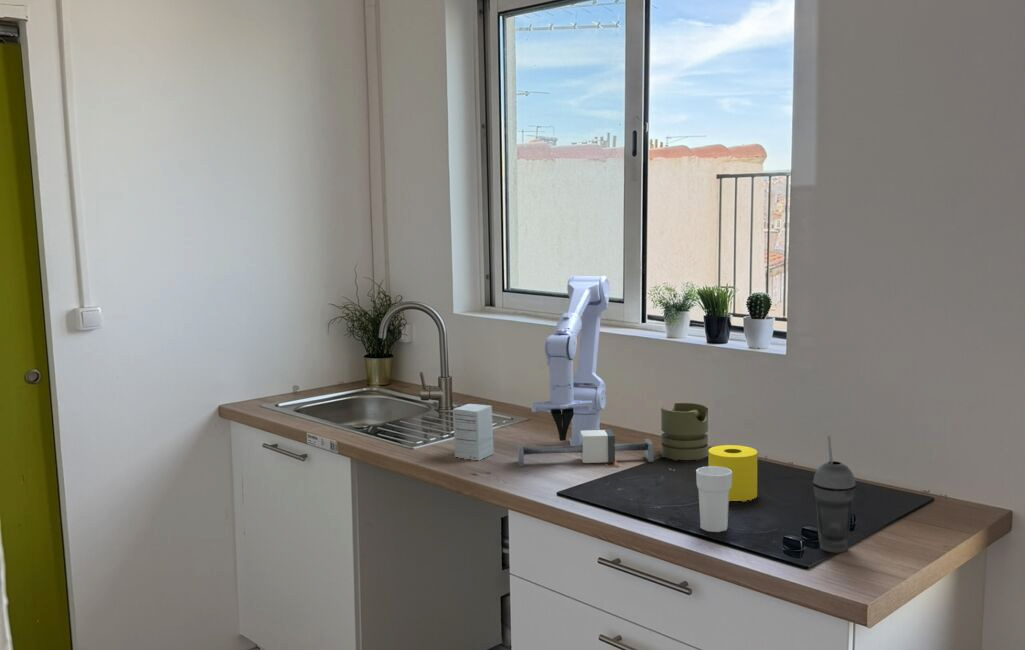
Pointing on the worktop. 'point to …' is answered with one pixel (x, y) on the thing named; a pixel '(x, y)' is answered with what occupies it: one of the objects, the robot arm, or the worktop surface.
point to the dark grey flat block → (611, 445)
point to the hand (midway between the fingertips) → (562, 439)
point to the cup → (714, 497)
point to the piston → (685, 431)
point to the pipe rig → (578, 449)
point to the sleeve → (594, 446)
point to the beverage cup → (833, 503)
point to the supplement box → (473, 431)
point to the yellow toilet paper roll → (737, 469)
